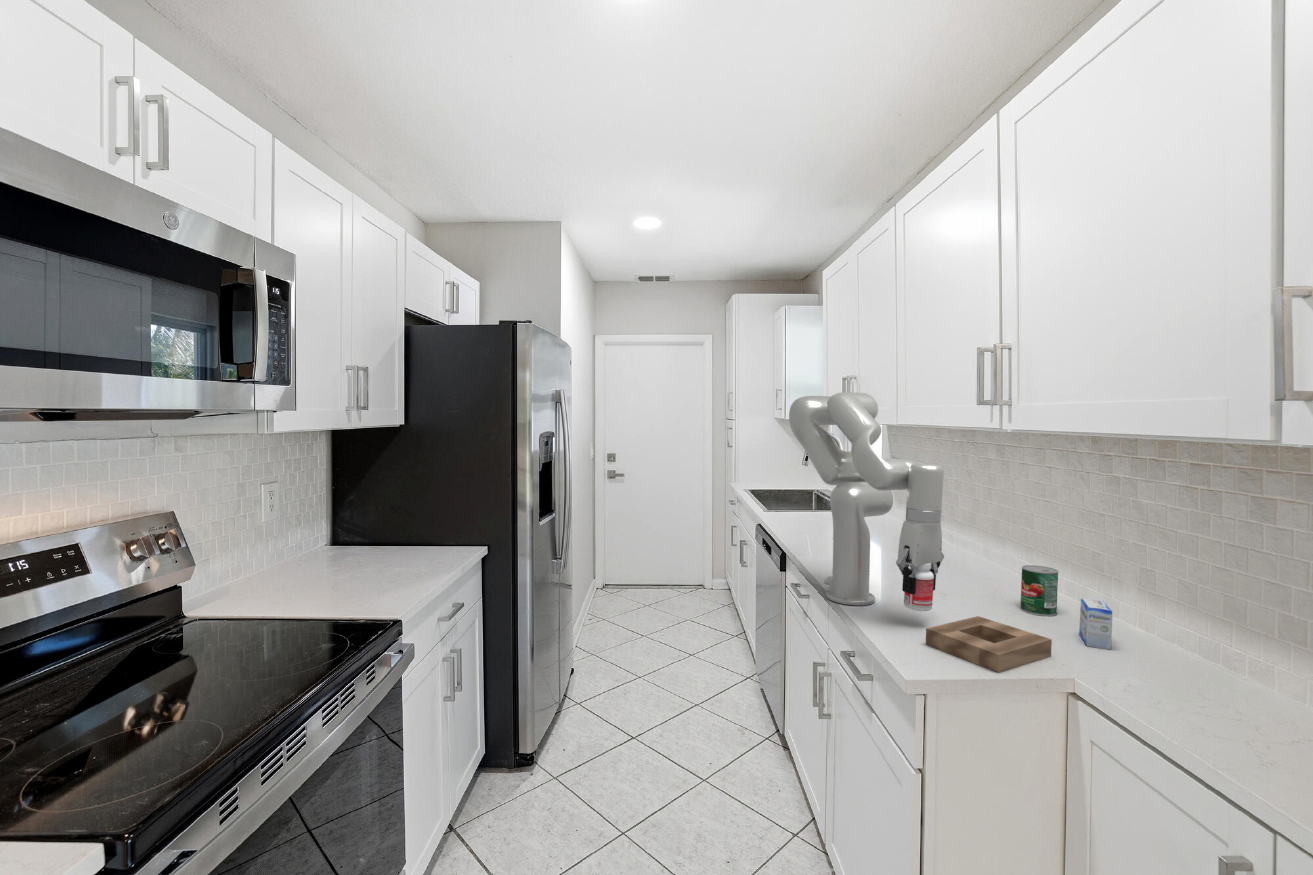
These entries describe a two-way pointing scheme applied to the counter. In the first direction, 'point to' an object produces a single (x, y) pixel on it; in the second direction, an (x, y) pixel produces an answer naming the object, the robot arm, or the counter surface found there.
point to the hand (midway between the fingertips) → (918, 590)
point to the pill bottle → (921, 590)
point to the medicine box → (1095, 623)
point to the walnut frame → (989, 643)
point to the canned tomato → (1039, 590)
